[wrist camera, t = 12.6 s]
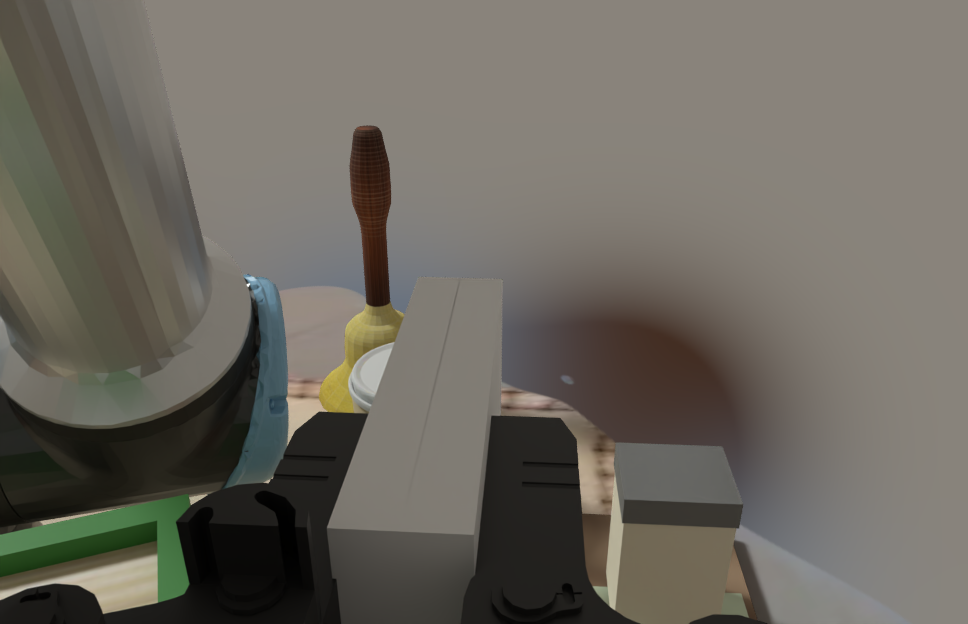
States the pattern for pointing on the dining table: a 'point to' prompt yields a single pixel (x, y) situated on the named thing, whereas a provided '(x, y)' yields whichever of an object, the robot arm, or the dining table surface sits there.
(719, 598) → the fader knob
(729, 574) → the fader track
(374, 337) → the handbell
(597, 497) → the dining table surface
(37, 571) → the hardback book
